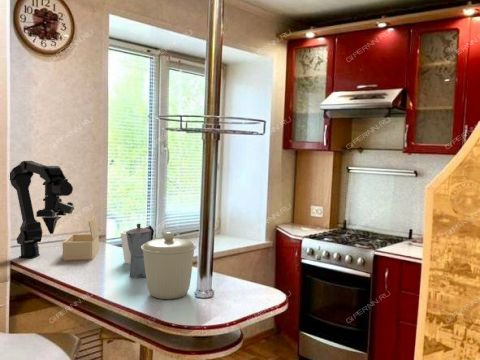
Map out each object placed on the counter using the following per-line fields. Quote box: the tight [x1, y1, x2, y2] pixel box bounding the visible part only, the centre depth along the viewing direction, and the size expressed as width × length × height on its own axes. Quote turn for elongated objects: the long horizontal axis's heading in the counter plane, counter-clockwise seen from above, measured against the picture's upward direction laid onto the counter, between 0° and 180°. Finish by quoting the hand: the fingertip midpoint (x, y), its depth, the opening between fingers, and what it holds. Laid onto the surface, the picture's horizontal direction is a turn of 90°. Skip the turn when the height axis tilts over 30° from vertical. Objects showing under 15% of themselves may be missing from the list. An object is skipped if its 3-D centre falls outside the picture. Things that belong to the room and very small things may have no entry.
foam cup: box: [120, 229, 131, 265], centre depth 194 cm, size 10×9×13 cm
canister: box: [141, 231, 197, 300], centre depth 151 cm, size 18×18×21 cm
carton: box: [62, 233, 100, 262], centre depth 205 cm, size 12×19×8 cm, turn 9°
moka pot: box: [126, 223, 155, 279], centre depth 175 cm, size 10×15×20 cm, turn 158°
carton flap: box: [88, 215, 100, 240], centre depth 205 cm, size 8×16×1 cm
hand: (51, 233), depth 187 cm, fingers closed
